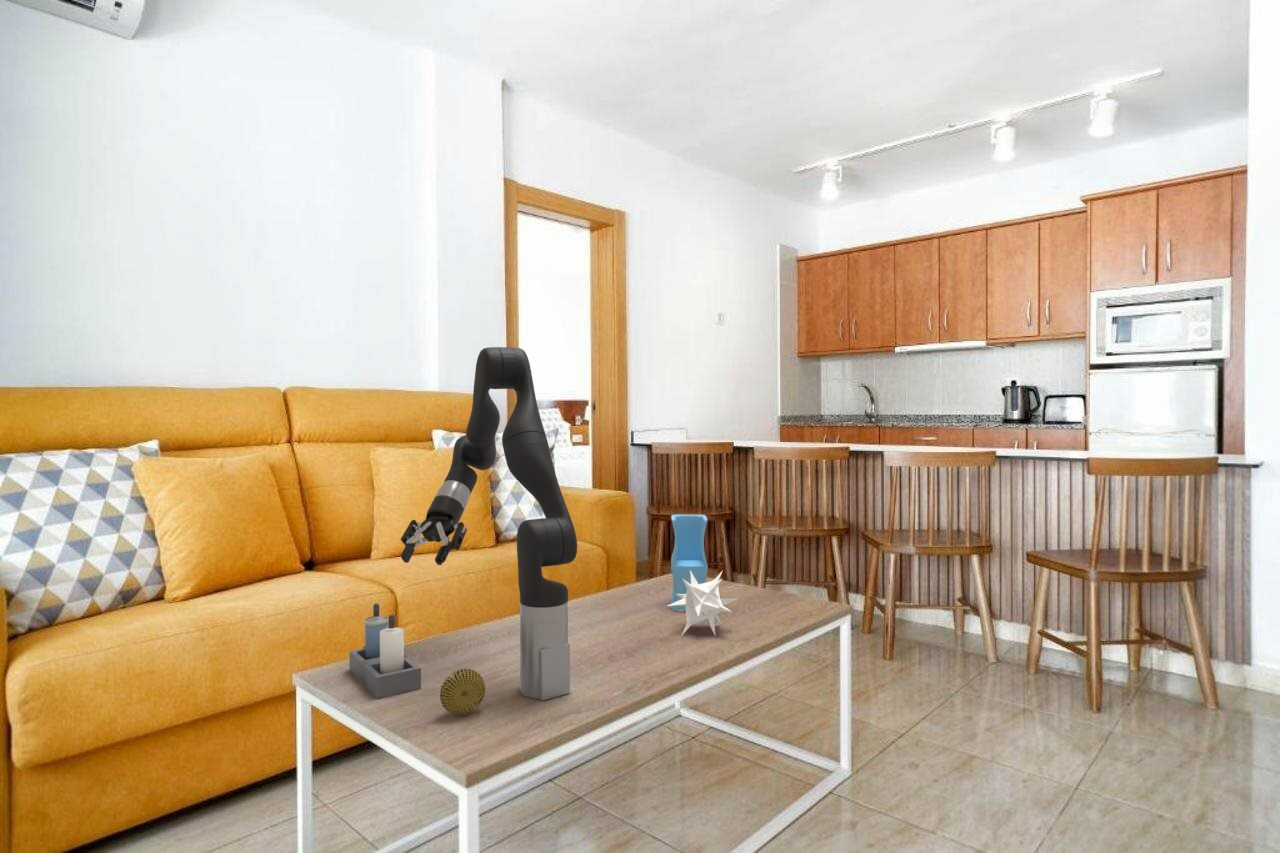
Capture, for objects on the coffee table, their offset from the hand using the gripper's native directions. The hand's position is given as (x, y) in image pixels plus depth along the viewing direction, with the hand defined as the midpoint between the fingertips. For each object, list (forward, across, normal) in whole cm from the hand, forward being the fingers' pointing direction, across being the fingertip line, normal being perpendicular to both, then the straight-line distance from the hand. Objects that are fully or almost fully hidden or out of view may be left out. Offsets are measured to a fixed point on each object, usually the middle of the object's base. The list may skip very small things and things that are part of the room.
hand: (421, 561), depth 156 cm
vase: (-26, +47, +55) cm, 77 cm away
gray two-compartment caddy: (+25, +1, +5) cm, 25 cm away
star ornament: (-11, +56, +41) cm, 70 cm away
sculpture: (+32, +25, -2) cm, 41 cm away
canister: (+23, -3, +7) cm, 24 cm away
